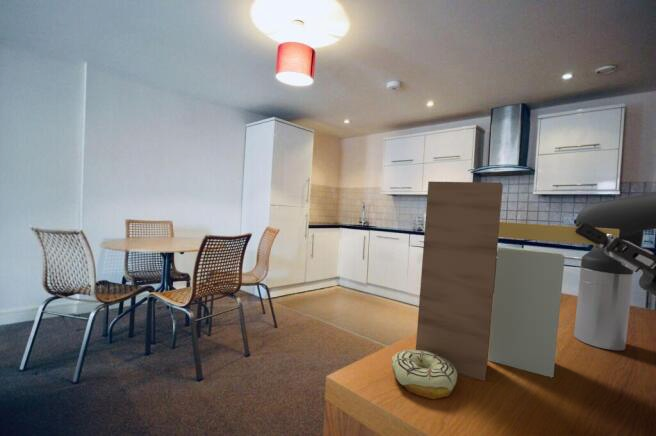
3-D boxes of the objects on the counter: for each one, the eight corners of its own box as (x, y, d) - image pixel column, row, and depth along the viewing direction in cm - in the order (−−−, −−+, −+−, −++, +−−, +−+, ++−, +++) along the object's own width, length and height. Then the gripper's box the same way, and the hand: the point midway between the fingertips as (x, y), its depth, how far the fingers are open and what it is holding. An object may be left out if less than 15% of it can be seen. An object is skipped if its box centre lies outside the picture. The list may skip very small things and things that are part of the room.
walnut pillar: (423, 347, 66) (436, 184, 65) (487, 364, 60) (502, 186, 59) (414, 360, 60) (428, 181, 59) (484, 381, 54) (501, 182, 53)
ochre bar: (485, 235, 67) (486, 220, 67) (613, 245, 57) (614, 228, 56) (484, 235, 64) (486, 221, 64) (618, 246, 54) (619, 229, 54)
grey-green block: (490, 345, 69) (498, 245, 68) (548, 360, 64) (558, 252, 63) (488, 360, 62) (497, 249, 61) (553, 377, 57) (564, 256, 56)
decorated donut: (393, 397, 48) (394, 373, 48) (389, 362, 59) (390, 343, 59) (464, 406, 47) (466, 382, 47) (447, 370, 57) (448, 349, 57)
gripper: (686, 263, 56) (583, 210, 63) (735, 276, 44) (601, 208, 51) (654, 295, 58) (557, 240, 65) (692, 316, 46) (569, 246, 53)
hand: (577, 227), depth 58 cm, fingers closed on ochre bar, 3 cm apart
